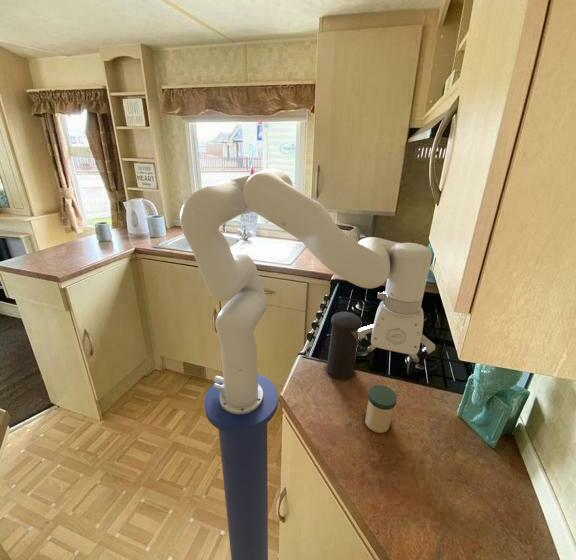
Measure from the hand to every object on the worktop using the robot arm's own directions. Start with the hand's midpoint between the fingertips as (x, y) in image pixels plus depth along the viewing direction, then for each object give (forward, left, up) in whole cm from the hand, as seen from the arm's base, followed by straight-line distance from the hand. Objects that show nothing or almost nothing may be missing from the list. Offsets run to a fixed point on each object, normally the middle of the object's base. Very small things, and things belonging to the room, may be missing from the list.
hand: (389, 366), depth 74 cm
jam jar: (0, 0, -19) cm, 19 cm away
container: (-13, +16, -19) cm, 28 cm away
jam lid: (0, 0, -9) cm, 9 cm away
